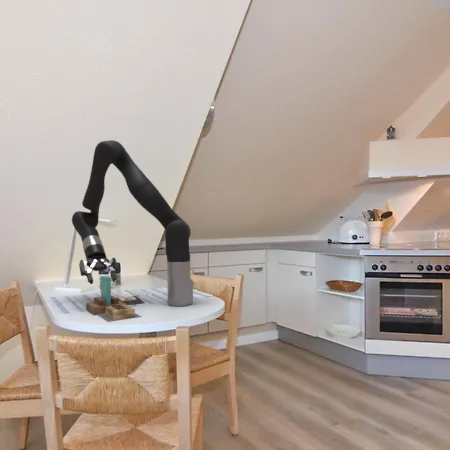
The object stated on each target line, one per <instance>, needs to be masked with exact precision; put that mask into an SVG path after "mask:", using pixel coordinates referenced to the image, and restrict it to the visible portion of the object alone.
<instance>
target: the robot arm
mask: <svg viewBox="0 0 450 450" xmlns="http://www.w3.org/2000/svg"><path fill="white" fill-rule="evenodd" d="M111 165H113V166H114V167H115V168H116V169H117V170H118V171H119V172H120V173H121V175H122V176H123V178H124V181H125V183H126V186H127V188H128V191H129V193H130V194H131V196H132V197H133V198H134V200H136V201H137V203H138V204H139V205H140V206H141V207H142V208H143V209H144V210H145V211H147V212H148V213H149V214H150V216H152V217H154V218H155V219H156V220H157V221H158V222H159V223H160V225H161V226H162V227H163V229H164V230H165V232H164V237H165V238H164V239H165V240H164V241H165V255H166V266H167V267H166V271H167V272H166V273H167V275H166V276H167V278H166V279H167V305H168V306H170V307H171V306H172V307H184V306H189V305H192V304H194V286H193V285H194V282H193V281H194V280H193V279H191V278H192V277H191V275H192V274H191V252H190V237H191V228H190V225H189V224H188V223H187V222H186V221H185V220H184V219H183V218H182V217H180V216H179V215H178V214H177V212H176V211H175V210H173V209H172V207H171V206H170V205H169V204H168V202H167V200H166V199H165V197H164V196H163V195H162V193H161V192H160V191H159V190H158V188H157V187H156V186H155V185H154V183H152V181H151V180H150V179H149V178H148V177H147V176H146V174H145V173H144V172H143V171H142V170H141V169H140V167H139V166H138V165H137V164H136V163H135V161H133V159H132V157H131V156H130V154H129V153H128V152H127V150H126V148H125V147H124V146H123V145H122V144H121V143H120V142H119V141H117V140H115V139H114V140H113V139H112V140H110V139H109V140H103V141H100V142H98V143H97V145H96V146H95V149H94V151H93V157H92V166H91V171H90V175H89V180H88V184H87V187H86V189H85V190H86V191H85V192H84V196H83V199H82V202H81V203H82V205H81V206H83V208H85V209H87V210H88V211H80V210H78V211H75V212H74V213H73V214H72V217H71V222H72V226H73V227H74V229H75V230H76V232H77V234H78V235H79V236H80V238H81V242H82V243H81V244H82V248H83V252H84V256H85V259H86V260H84V259H81V260H80V259H79V264H78V267H79V272H80V276H82V277H83V276H86V279H87V282H88V283H90V285H92V284H94V277H93V275H92V274H93V272H94V271H95V272H99V271H105V272H106V273H109V274H110V278H111V280H112V283H114V282H116V280H117V274H118V272H119V270H120V267H119V265H118V263H117V259H116V258H115V257H112V258H111V259H108V258H107V255H106V251H105V248H104V245H103V242H102V240H101V237H100V234H99V231H98V229H97V228H96V227H97V226H98V225H99V218H100V217H99V215H100V206H101V203H102V201H103V198H104V194H105V188H106V186H105V181H106V179H105V178H106V175H107V172H108V169H109V168H110V166H111ZM89 211H90V212H89ZM86 266H87V267H88V269H87V270H86V268H85V267H86Z"/></svg>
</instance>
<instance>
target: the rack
mask: <svg viewBox="0 0 450 450" xmlns="http://www.w3.org/2000/svg"><path fill="white" fill-rule="evenodd" d="M135 310H136V309H135V308H134V307H132V306H131V305H126V304H123V305H120V310H117V309H115V308H114V307H112V306H108V307H105V315H106V316H108V317H109V318H111V319H113V320H118V321H121V320H120V319H124V320H127V319H126V318H131V319H134V318H133V317H135V313H136V312H135Z"/></svg>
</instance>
